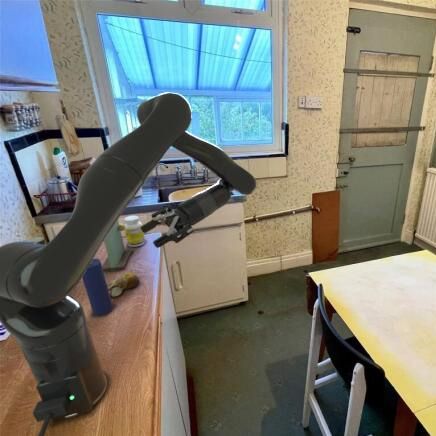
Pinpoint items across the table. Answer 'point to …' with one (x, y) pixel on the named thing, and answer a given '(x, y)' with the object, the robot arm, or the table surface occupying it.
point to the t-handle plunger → (97, 289)
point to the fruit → (124, 283)
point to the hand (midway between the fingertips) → (148, 237)
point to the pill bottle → (134, 231)
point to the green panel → (115, 249)
